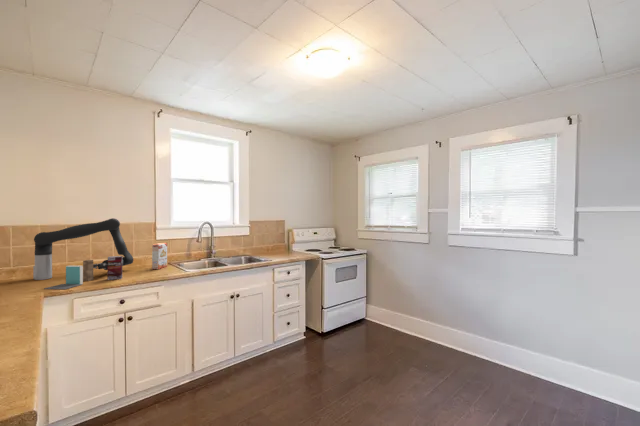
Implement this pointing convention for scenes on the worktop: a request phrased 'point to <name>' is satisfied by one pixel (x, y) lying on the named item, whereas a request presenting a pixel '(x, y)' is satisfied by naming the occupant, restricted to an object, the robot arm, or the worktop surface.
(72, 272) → the teal book
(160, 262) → the cracker box
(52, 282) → the worktop surface
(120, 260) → the supplement box
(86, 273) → the walnut block
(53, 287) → the mat
